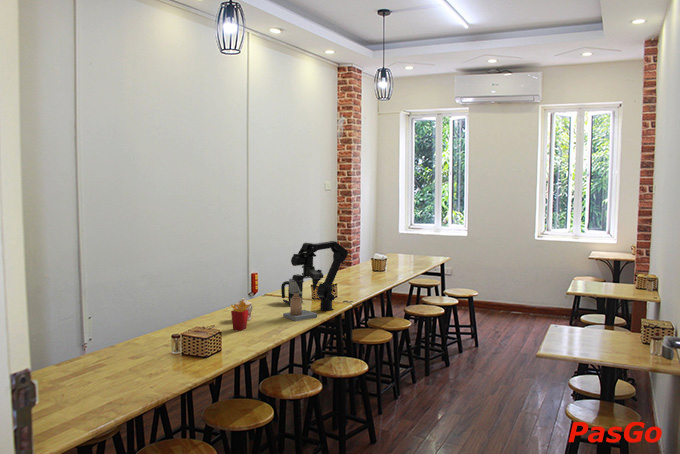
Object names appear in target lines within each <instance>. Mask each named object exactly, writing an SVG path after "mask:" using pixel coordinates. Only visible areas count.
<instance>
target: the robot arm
mask: <svg viewBox="0 0 680 454" xmlns="http://www.w3.org/2000/svg"><path fill="white" fill-rule="evenodd" d="M328 249H330V250H331V251H332V254H333V255H332V259H333V261H332V263H331V265H330V267H329V270H328V272H327V274H326V277H325V280H324V282H322V283H319V281H321V280H322V279H324V273H323V271H322V269H315V265H314V257H315V258H316V257H317V255H316V254H315V253H316V252H317V251H321V250H328ZM348 255H349V252H348V250H347V248H344V246H342V245H341V244H339V242H338V241H336V240H330V241H322V242H316V243H315V242H313V243H312V242H304V243H303V244H302V245H301V248H300V250H299V251H298V252H297V253H293V255H292V257H291V258H290V259H291V260H290V262H291V265H292V266H293V267H297V266H299V267H300V266H301V268H302V271H303V272H302V273H301V274H293V275H292V278H291V279H292V280H294V281H296V283H297V285H298V287H299V289H300V291H301V292H302V293H303V289H304V288H303V286H304V285H303V283H304V282H305V281H304V279H311V280H312V290H313V291H316V293H317V297H318V299H319V300H320V302H319V303H320V306H319V307H320V308H319V310H320V311H323V312H330V311H334V310H335V309H334V308H333V301H334V300H335V295H334V294H333V293H332V292H333V283H334V281H335V278H336V276H337V274H338V272H339V269H340V267H341V264H343V262H345V261H346V259H347V257H348ZM302 280H303V281H302ZM318 283H319V284H318ZM317 286H318V287H317Z"/></svg>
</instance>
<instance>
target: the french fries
mask: <svg viewBox="0 0 680 454" xmlns="http://www.w3.org/2000/svg"><path fill="white" fill-rule="evenodd" d="M236 306H237V307H238V309H237V308H236ZM249 306H250V304H249V305H247V304H246V303H244V301H241V302H240V303H239V306H238V305H235V304H230V307H231V308H232V309H233V310H231V311H230V313H231V322H232V329H233V331H240V332H241V331H245V330H246V329H247V326H248V321H247V318H248V310H246V308H248V307H249ZM241 307H242V309H241Z"/></svg>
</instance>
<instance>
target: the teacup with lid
mask: <svg viewBox="0 0 680 454" xmlns="http://www.w3.org/2000/svg"><path fill="white" fill-rule="evenodd" d="M241 301H244V303H246V304H247V305H249V304H250V306H249V307H248V308H246V310H248V318H247V322H248V321H250V320H252V311H253V305H252V302H251V301H248V300H246V298H244V297H242V298H241V300H239V301H237V302H235V305H238V306H239V303H240V302H241ZM236 308H237V309H238V307H237V306H236ZM241 309H242V307H241Z"/></svg>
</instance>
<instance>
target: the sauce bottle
mask: <svg viewBox="0 0 680 454" xmlns="http://www.w3.org/2000/svg"><path fill="white" fill-rule="evenodd" d="M293 293H294V296H292V298H291V299H290V305H289V306H290V311H289V312H290V315H294V316H298V315H302V310H303V302H302V301H303V297H302V298H300V296H299V291H293Z"/></svg>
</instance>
